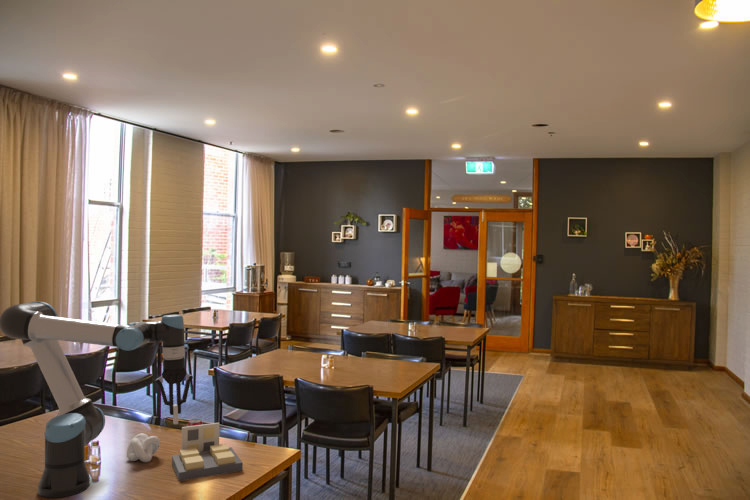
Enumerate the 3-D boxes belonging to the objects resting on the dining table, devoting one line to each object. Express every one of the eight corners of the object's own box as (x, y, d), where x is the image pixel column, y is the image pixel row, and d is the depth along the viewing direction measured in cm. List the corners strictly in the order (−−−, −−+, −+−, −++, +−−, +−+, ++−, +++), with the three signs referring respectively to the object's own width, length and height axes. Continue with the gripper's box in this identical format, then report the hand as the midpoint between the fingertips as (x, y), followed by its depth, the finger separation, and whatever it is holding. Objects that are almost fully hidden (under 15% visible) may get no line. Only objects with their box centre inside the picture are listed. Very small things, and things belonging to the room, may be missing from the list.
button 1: (182, 463, 206) (182, 455, 206) (179, 458, 211) (179, 450, 211) (199, 461, 208) (199, 452, 208) (196, 455, 214) (196, 447, 214)
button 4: (217, 467, 203) (218, 458, 203) (214, 461, 208) (214, 453, 208) (234, 464, 205) (234, 456, 205) (230, 459, 211) (231, 451, 211)
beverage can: (197, 454, 222) (198, 423, 222) (183, 452, 223) (183, 422, 223) (205, 448, 228) (206, 418, 228) (191, 447, 229) (191, 417, 229)
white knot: (117, 462, 212) (117, 438, 212) (140, 452, 223) (140, 429, 223) (141, 467, 208) (141, 442, 208) (163, 456, 219) (164, 433, 219)
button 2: (185, 472, 198) (186, 463, 198) (183, 466, 203) (183, 458, 203) (203, 469, 200) (203, 460, 200) (200, 463, 206) (200, 455, 206)
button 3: (212, 458, 211) (213, 450, 211) (209, 453, 216) (209, 445, 216) (229, 456, 213) (229, 448, 213) (225, 451, 219) (225, 443, 219)
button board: (179, 481, 195) (179, 446, 195) (170, 460, 215) (170, 428, 215) (242, 470, 205) (242, 437, 205) (228, 451, 225) (229, 421, 225)
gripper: (155, 361, 198) (157, 428, 198) (194, 357, 204) (195, 423, 204) (153, 358, 205) (155, 423, 205) (191, 354, 210) (193, 417, 210)
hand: (175, 423), depth 204 cm, fingers closed
